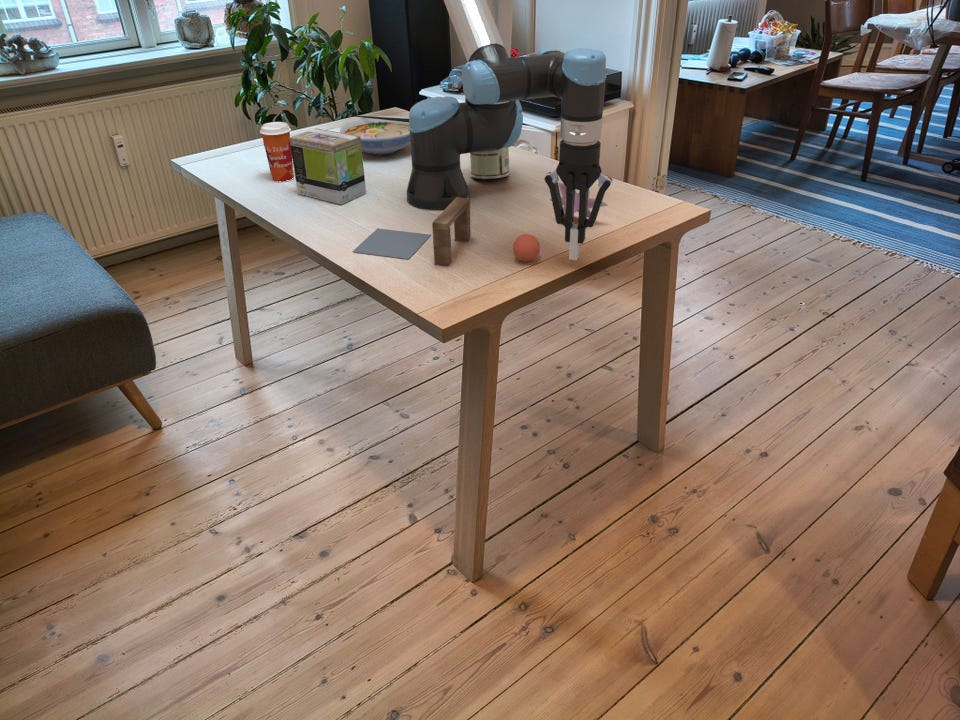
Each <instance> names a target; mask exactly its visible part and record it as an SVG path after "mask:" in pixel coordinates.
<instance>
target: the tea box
mask: <svg viewBox="0 0 960 720" xmlns="http://www.w3.org/2000/svg"><path fill="white" fill-rule="evenodd" d="M289 140H290V146H291V153H292V162H293V173H294V177H295V183H296V184H295V185H296V191H297V194H298V195H300V194H302V195H301V196H304V195H306V196H305V197H308V196H309V198H312V197H313V198H312V199H317V200H320V201H321V200H322V201H326V202H330V203H333V204H338V205H343V204H346V203H349V202H351V201H353V200H355V199H357V197H358V198H359V196H360V197H362V196H363V195H366V193H367V191H366V190H367V189H366V188H367V187H366V178H365V169H364V167H365V166H364V158H363V151H362V147H361V139H360V136H358V135H352V134H346V133H341V132H340V131H334V130H327V129H321V128H317V127H316V128H314V129H310V130H307V131H305V132H301V133H299V134H295V135H293V136H290V137H289ZM361 195H362V196H361ZM352 199H353V200H352Z"/></svg>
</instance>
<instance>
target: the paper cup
mask: <svg viewBox="0 0 960 720" xmlns="http://www.w3.org/2000/svg"><path fill="white" fill-rule="evenodd" d="M291 131H292V129H291V128H290V125H289V124H288V123H287V122H283V121H273V122H272V121H271V122H266V123H263V124H262V125H261V127H260V130H259V133H260V134H261V137H262V142H263V143H262V144H263V147H264V150H265V155H266V158H267V162H268V166H269V171H270V175H271V179H272V181H273V180H274V182H275V181H278V183H280V182H279V181H286V180H290V179H292V178H293V177H295V173H294V166H293V160H292V153H291V146H290V140H289V137H291V134H290V133H291ZM293 179H294V178H293ZM293 179H292V180H293ZM290 181H291V180H290ZM286 182H287V181H286Z"/></svg>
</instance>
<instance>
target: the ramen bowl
mask: <svg viewBox="0 0 960 720" xmlns="http://www.w3.org/2000/svg"><path fill="white" fill-rule="evenodd" d="M352 117H355V118H354V119H351V120H349V121H346V122H344V123H343V124H341V125H340V126H339V132H340V133H346V134H352V135H358V136H360V139H361V147H362V153H363V152H364V153H368V154H370V155H372V156H379V155H381V156H387V155H391V154H393V153H395V152H397V151H399V150H401V149H404V148H405V147H407V146H409V144H411V143H410V131H409V117H405V116H400V115H376V116H369V115H355V114H354V115H352Z"/></svg>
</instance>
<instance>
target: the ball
mask: <svg viewBox="0 0 960 720" xmlns="http://www.w3.org/2000/svg"><path fill="white" fill-rule="evenodd" d="M540 249H541V245H540V241H538V239H537V238H536V236H534V235H532V234H529V233H526V234H521V235H519V236H518V237H517V238H516V239H515V240H514V241H513V244H512V251H513V254H514V256H515V257H516V258H517V259H518V260H520V261H522V262H531V261H533V260H535V259H536V258H537V257H538V255H539V254H540Z"/></svg>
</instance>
